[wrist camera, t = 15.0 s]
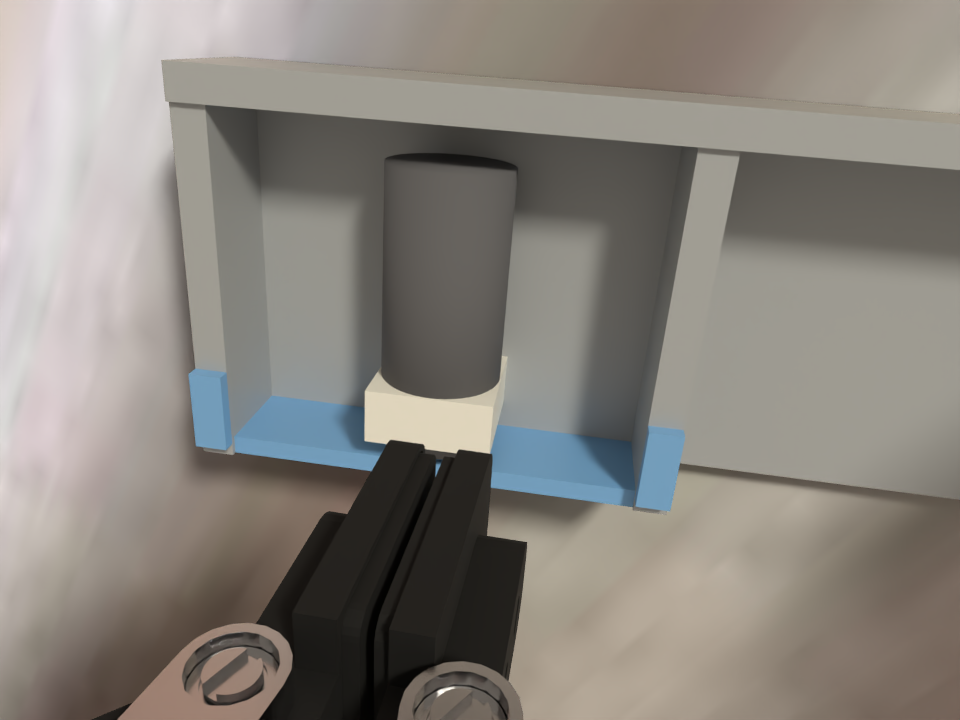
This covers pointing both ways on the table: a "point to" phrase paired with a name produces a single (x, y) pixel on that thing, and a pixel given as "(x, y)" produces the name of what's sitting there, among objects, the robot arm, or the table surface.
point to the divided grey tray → (586, 275)
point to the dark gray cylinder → (443, 302)
